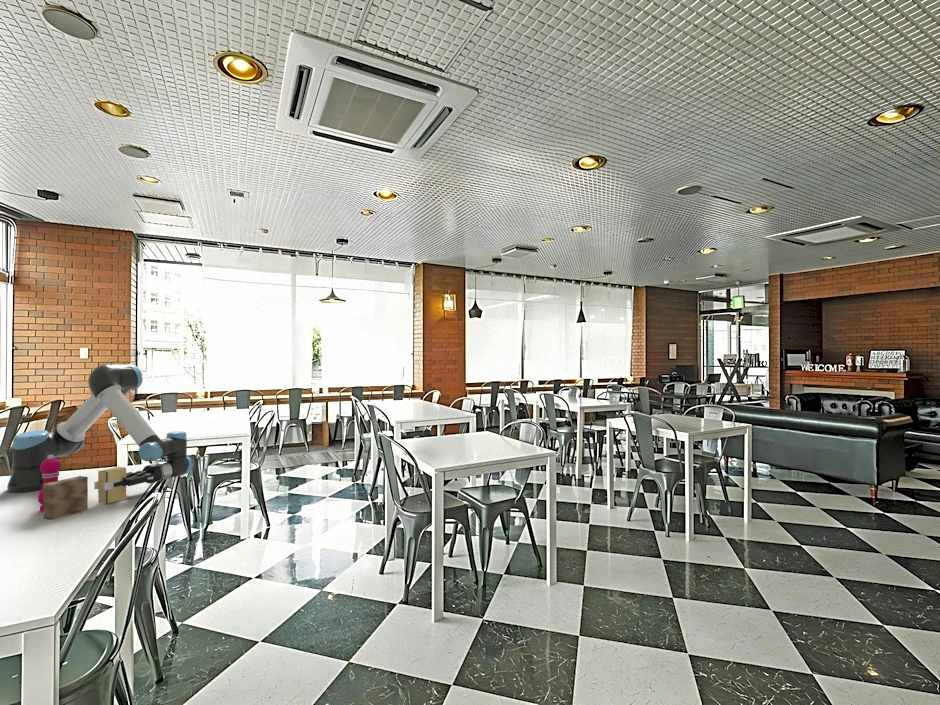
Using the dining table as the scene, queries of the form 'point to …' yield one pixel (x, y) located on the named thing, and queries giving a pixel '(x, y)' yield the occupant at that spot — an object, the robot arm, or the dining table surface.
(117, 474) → the stub
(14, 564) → the dining table surface
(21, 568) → the dining table surface
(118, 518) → the dining table surface
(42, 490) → the pepper mill
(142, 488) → the dining table surface
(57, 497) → the block
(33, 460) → the robot arm
